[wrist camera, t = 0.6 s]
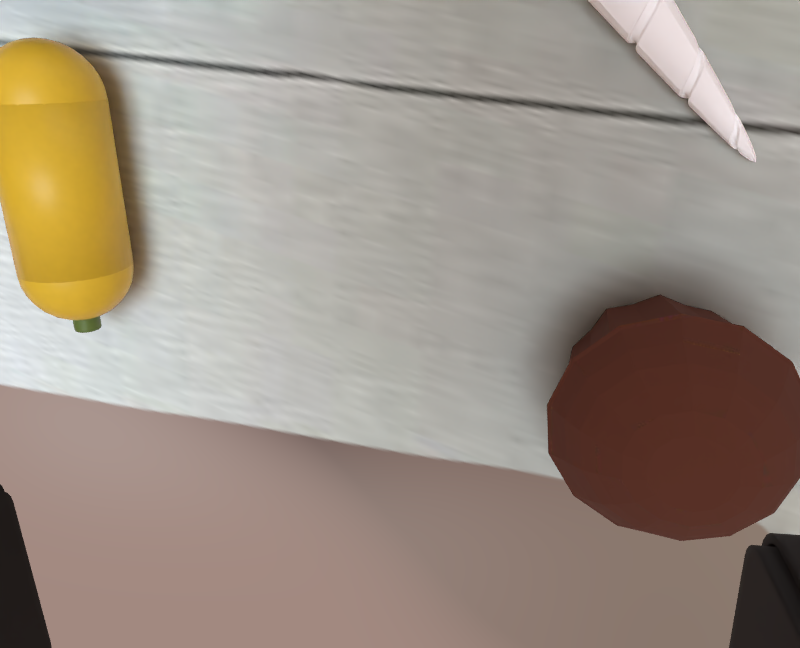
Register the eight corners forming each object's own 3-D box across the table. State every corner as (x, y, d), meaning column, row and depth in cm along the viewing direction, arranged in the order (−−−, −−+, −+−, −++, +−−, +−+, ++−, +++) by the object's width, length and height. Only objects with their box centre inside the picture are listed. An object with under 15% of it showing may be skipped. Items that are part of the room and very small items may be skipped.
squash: (19, 39, 37) (-67, 37, 31) (120, 37, 36) (50, 34, 30) (71, 308, 42) (6, 345, 37) (161, 313, 41) (107, 351, 36)
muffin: (815, 360, 36) (916, 465, 27) (665, 497, 40) (708, 629, 31) (633, 227, 35) (674, 288, 26) (500, 382, 39) (494, 483, 30)
